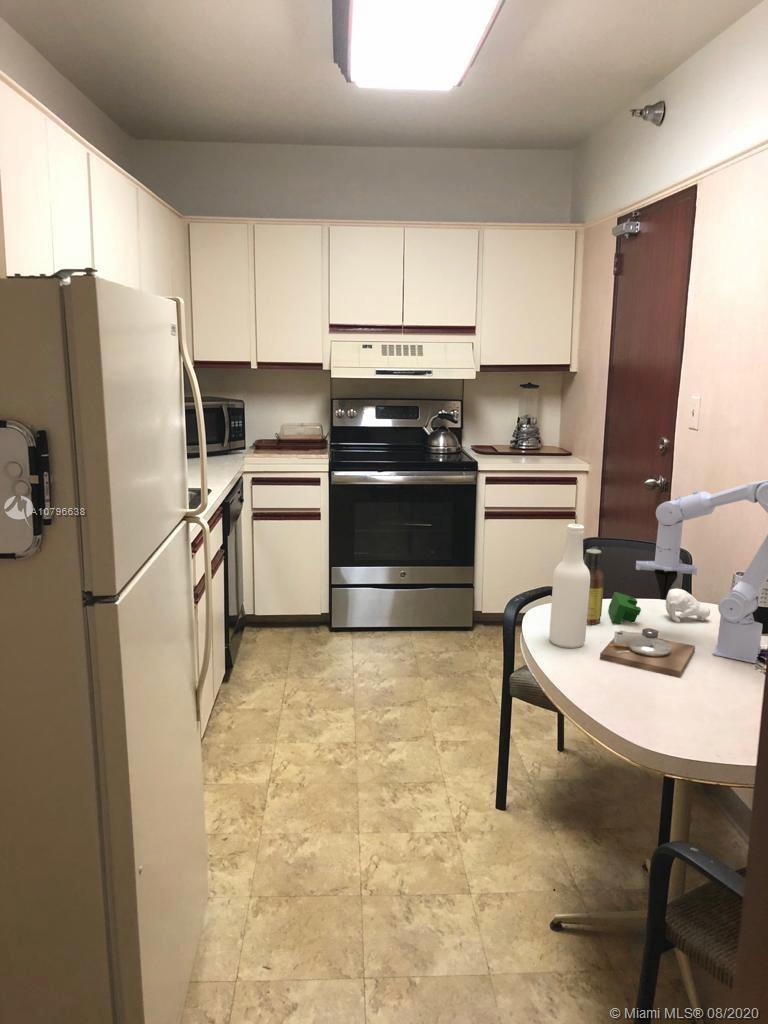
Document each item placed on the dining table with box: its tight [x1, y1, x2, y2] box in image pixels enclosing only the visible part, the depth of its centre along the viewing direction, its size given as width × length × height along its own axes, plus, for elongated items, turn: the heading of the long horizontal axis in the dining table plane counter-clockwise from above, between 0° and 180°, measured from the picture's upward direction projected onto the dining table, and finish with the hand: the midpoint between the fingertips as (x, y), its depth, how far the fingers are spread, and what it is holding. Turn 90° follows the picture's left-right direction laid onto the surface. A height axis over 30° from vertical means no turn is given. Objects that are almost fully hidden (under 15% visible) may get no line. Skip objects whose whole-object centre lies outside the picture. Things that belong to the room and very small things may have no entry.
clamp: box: [607, 591, 642, 625], centre depth 204 cm, size 12×6×9 cm, turn 163°
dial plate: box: [599, 630, 696, 678], centre depth 180 cm, size 18×18×2 cm
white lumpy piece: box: [665, 588, 711, 623], centre depth 204 cm, size 6×8×12 cm
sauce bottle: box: [584, 548, 605, 625], centre depth 200 cm, size 7×6×20 cm
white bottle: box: [548, 523, 590, 649], centre depth 184 cm, size 9×9×30 cm
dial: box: [613, 627, 671, 657], centre depth 179 cm, size 13×10×4 cm
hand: (662, 598), depth 193 cm, fingers closed
